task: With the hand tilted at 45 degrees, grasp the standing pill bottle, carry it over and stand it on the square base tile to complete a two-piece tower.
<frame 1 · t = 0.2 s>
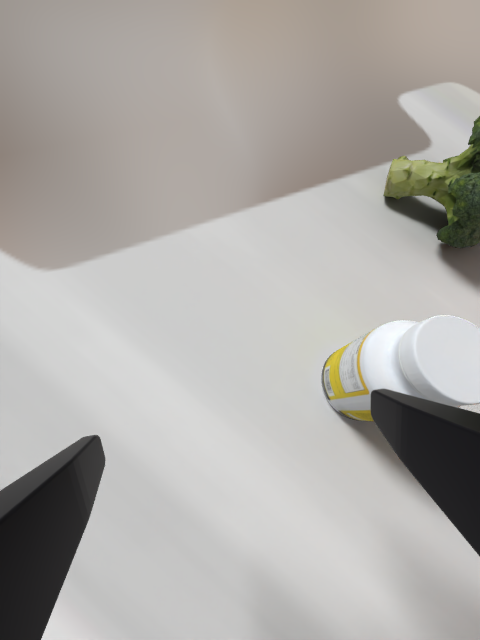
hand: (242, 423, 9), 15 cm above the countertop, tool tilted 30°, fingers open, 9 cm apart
pill bottle: (351, 383, 24), on the countertop
vegetable: (428, 216, 32), on the countertop
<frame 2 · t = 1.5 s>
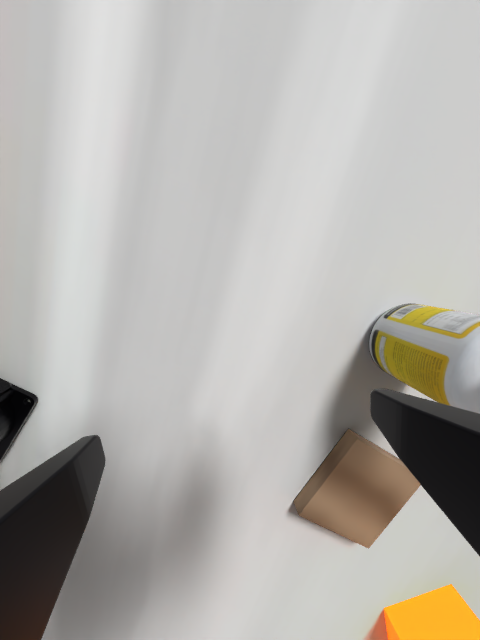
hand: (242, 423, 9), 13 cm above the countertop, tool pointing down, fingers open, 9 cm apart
orange juice: (418, 616, 32), on the countertop
pill bottle: (397, 337, 24), on the countertop
base tile: (354, 483, 26), on the countertop
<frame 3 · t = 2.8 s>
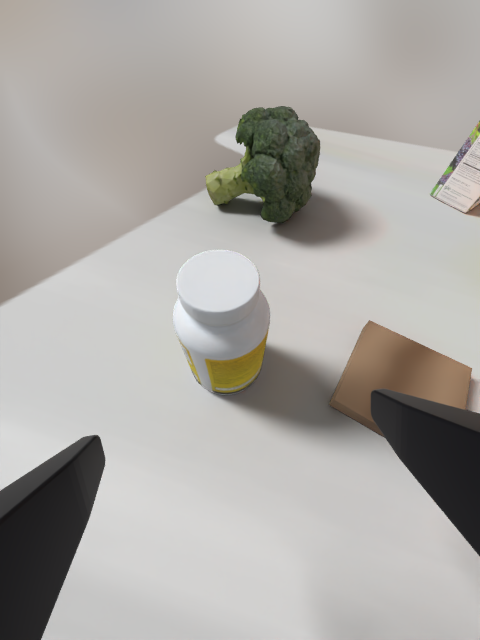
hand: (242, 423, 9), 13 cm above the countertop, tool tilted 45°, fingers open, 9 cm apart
pill bottle: (226, 363, 24), on the countertop
vegetable: (258, 209, 37), on the countertop
syrup box: (456, 199, 39), on the countertop
base tile: (396, 389, 23), on the countertop
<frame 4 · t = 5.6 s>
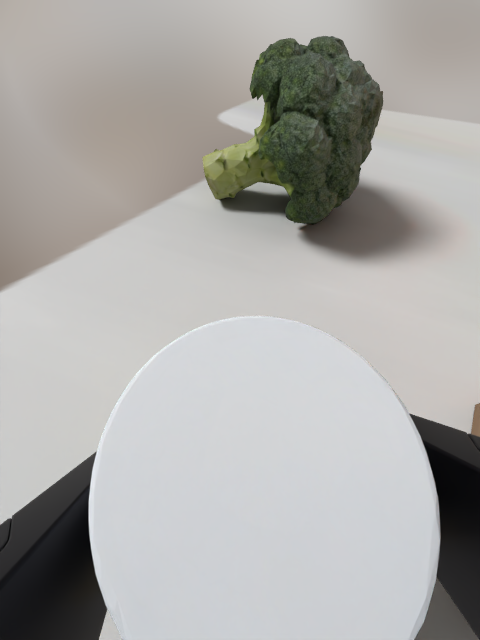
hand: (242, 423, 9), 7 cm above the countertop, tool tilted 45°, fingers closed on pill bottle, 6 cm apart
pill bottle: (245, 478, 14), on the countertop, touching gripper
vegetable: (277, 205, 26), on the countertop
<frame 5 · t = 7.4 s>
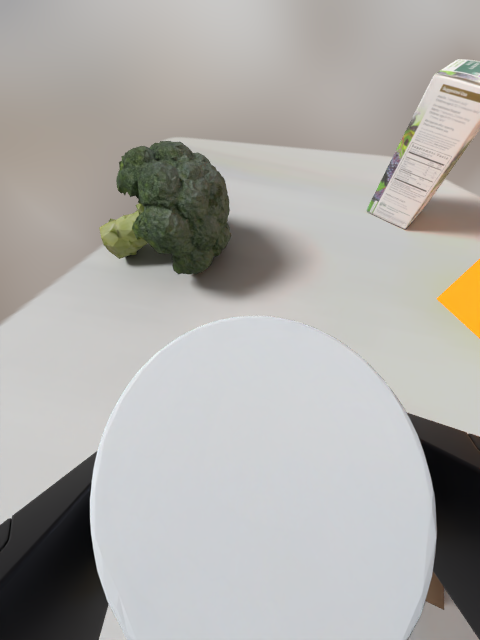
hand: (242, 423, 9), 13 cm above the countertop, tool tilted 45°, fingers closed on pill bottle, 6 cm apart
pill bottle: (243, 478, 14), point 6 cm above the countertop, touching gripper
vegetable: (175, 254, 31), on the countertop
syrup box: (393, 213, 36), on the countertop
base tile: (361, 485, 19), on the countertop
when the fingers open (9 cm above the countertop, at t = 9.6 s): pill bottle stays where it is, resting on base tile.
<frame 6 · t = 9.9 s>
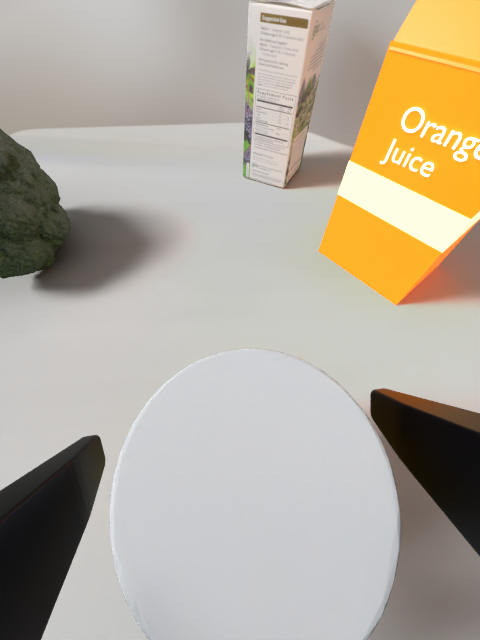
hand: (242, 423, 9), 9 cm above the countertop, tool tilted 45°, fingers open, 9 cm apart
orange juice: (376, 259, 26), on the countertop
pill bottle: (243, 483, 14), point 1 cm above the countertop, touching base tile
vegetable: (14, 257, 25), on the countertop
syrup box: (272, 174, 34), on the countertop
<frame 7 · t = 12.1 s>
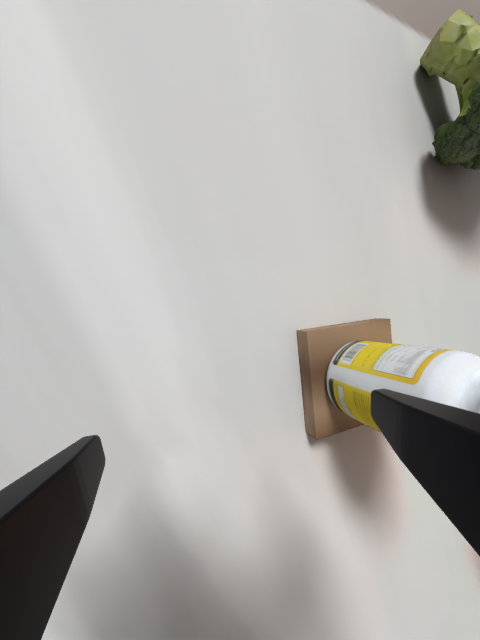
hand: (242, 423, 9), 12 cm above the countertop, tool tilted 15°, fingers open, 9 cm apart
pill bottle: (351, 375, 23), point 1 cm above the countertop, touching base tile
vegetable: (439, 122, 28), on the countertop
base tile: (343, 372, 24), on the countertop
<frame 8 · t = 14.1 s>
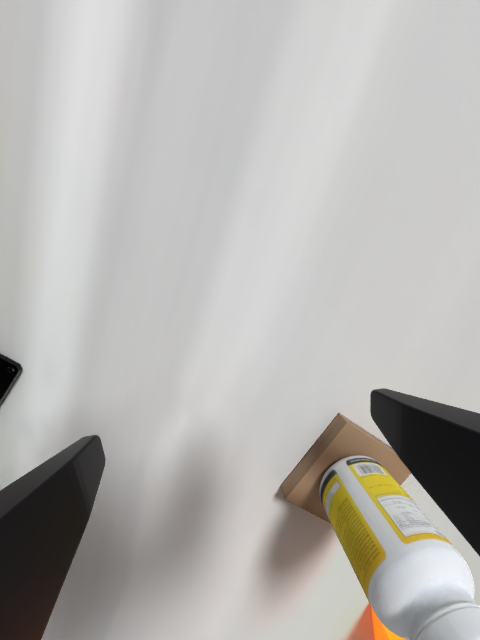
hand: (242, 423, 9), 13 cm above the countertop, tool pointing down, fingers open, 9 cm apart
orange juice: (406, 610, 31), on the countertop
pill bottle: (349, 480, 24), point 1 cm above the countertop, touching base tile
base tile: (343, 470, 25), on the countertop
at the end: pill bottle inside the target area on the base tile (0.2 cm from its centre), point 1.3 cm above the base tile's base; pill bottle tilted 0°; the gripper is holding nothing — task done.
